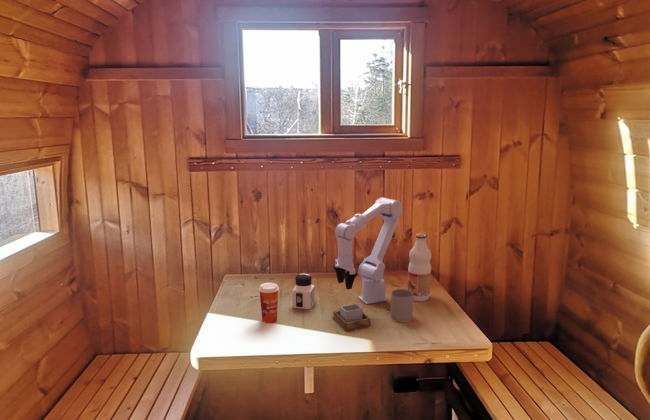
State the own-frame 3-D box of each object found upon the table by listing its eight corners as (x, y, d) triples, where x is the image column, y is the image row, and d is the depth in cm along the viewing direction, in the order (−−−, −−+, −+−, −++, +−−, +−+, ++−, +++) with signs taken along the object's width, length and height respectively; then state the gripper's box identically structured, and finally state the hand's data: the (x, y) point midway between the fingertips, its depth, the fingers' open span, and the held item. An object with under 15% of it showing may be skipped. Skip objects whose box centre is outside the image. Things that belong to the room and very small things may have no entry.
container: (310, 309, 202) (310, 279, 199) (292, 308, 203) (291, 277, 200) (314, 302, 209) (314, 272, 206) (297, 300, 211) (296, 271, 208)
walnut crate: (356, 314, 197) (357, 307, 196) (370, 326, 187) (370, 318, 186) (333, 318, 193) (333, 311, 192) (345, 330, 183) (345, 323, 182)
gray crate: (356, 316, 193) (356, 303, 192) (362, 322, 189) (362, 308, 188) (340, 320, 191) (340, 306, 190) (345, 325, 186) (345, 311, 185)
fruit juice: (427, 303, 208) (430, 238, 202) (405, 300, 211) (407, 236, 205) (430, 294, 216) (433, 232, 210) (409, 292, 219) (411, 230, 213)
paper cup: (263, 325, 187) (262, 290, 184) (256, 318, 194) (255, 284, 191) (283, 321, 191) (282, 287, 188) (275, 314, 198) (274, 280, 194)
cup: (414, 314, 197) (414, 290, 195) (410, 323, 189) (411, 298, 187) (392, 311, 200) (393, 288, 197) (388, 320, 192) (389, 295, 190)
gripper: (328, 249, 202) (328, 281, 205) (343, 260, 189) (343, 293, 192) (344, 247, 205) (344, 278, 208) (360, 257, 192) (359, 290, 195)
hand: (344, 285), depth 200 cm, fingers open, 7 cm apart
